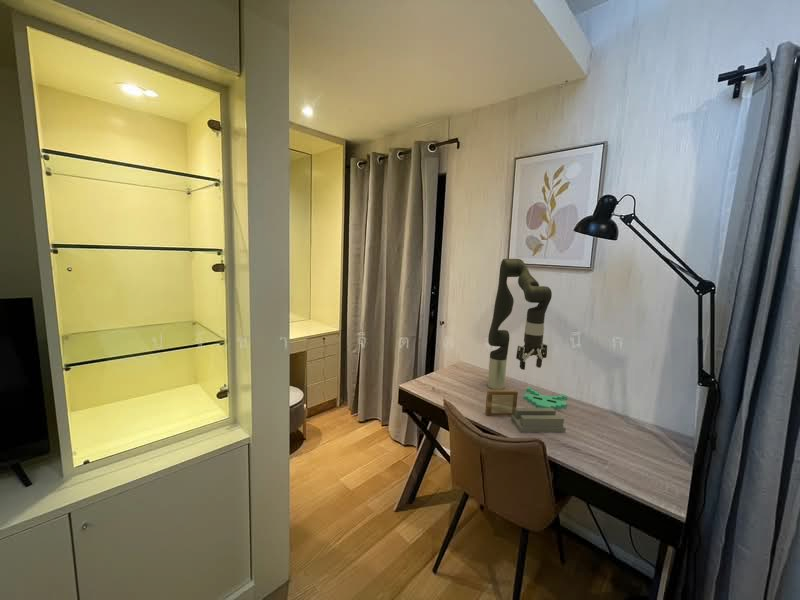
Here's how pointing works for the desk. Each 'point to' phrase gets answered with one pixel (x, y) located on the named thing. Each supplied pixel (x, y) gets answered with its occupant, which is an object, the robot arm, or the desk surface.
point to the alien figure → (545, 400)
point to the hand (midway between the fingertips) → (530, 368)
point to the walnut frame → (501, 402)
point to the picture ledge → (537, 420)
